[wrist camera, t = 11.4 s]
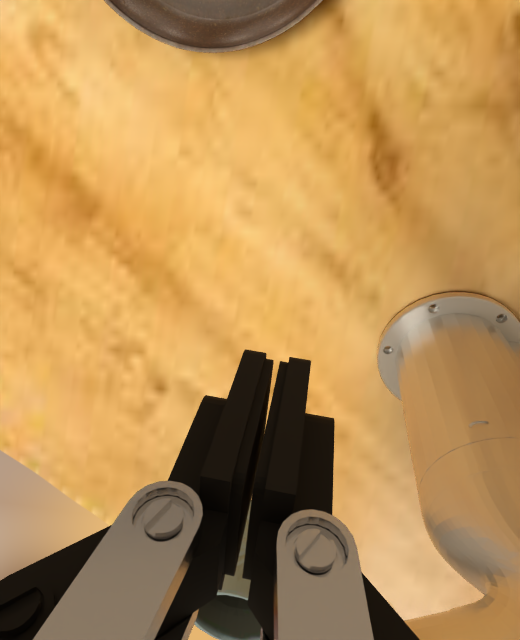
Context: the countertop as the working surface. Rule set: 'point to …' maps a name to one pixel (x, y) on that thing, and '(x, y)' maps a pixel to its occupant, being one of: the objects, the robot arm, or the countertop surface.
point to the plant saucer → (213, 21)
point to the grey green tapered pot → (231, 606)
